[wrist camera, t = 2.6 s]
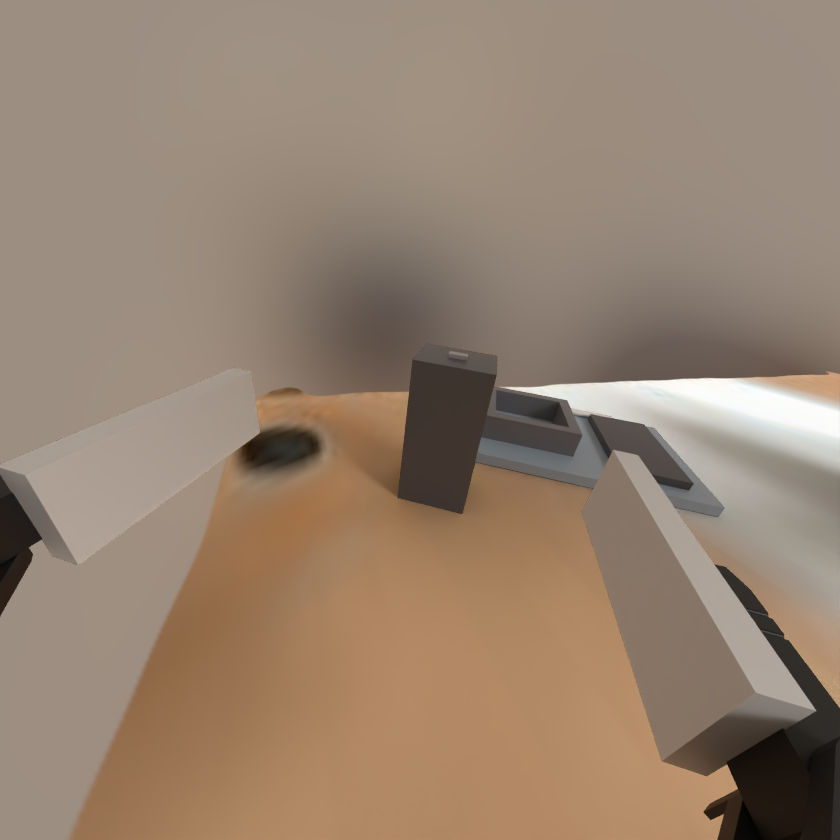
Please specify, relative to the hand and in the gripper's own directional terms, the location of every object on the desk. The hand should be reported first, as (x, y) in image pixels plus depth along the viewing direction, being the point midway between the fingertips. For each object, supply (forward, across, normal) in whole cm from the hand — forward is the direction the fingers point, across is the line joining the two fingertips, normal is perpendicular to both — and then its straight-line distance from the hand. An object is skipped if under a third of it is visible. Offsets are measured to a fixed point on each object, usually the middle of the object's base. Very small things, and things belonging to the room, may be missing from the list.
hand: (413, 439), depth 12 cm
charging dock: (+22, +14, -10) cm, 28 cm away
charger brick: (+10, 0, -11) cm, 15 cm away
